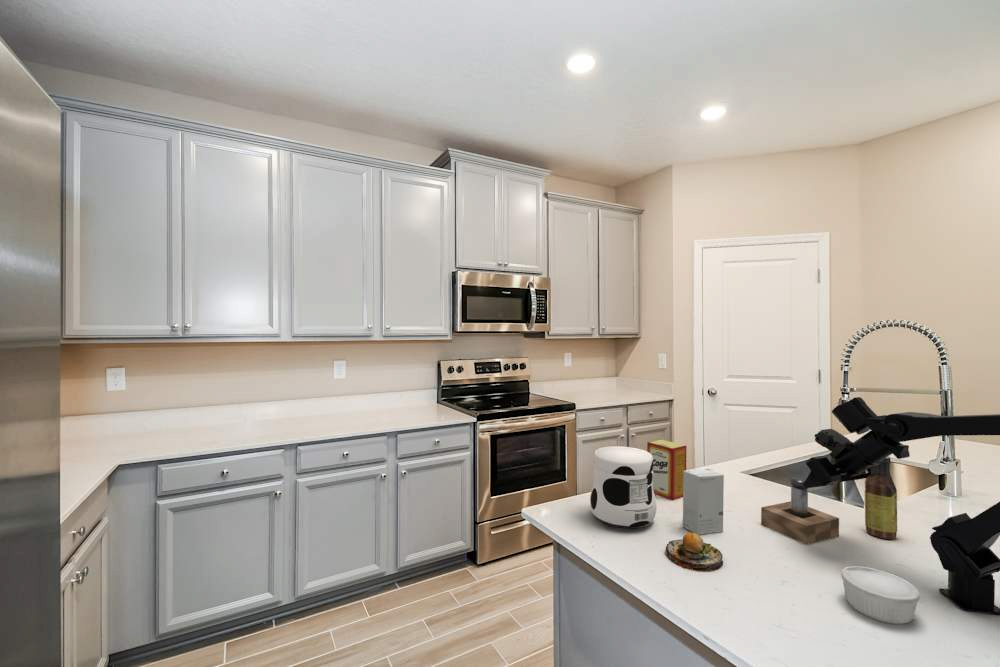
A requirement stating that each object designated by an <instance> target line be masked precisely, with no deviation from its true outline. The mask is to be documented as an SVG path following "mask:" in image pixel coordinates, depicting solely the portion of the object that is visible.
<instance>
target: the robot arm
mask: <svg viewBox="0 0 1000 667" xmlns="http://www.w3.org/2000/svg"><path fill="white" fill-rule="evenodd" d="M831 414H832V415H833V416H834V417H835V418H836V419H837V420H838V421H839V422H840V423H841V424H842V426H843V427H844V428H845V429H846V430H847V431H848V432H849V434H853V433H856V435H859V436H860V435H862V434H863V435H862V436H860V437H859V438H857V440H854V442H853V441H851V440H850V439H849V438H848V437H847V436H845V435H843V434H842V433H840V432H839V431H837V430H835V429H833V428H827V429H821V430H820V431H818V432H817V433H815V434H814V437H815V438H814V442H815V443H816V444H817V445H820V446H821V447H823V448H825V449H826V450H828V451H830V452H829V453H828V454H829V455H830V457H831V458H832V459H834V462H835V463H832V462H831V461H830V460H829V458H828V457H827V456H822V455H817V456H812V457H810V458H808V459H807V460H806V461H805V465H806V466H807V467H808V469H809V470H810V472H809V474H808V476H807V477H806V478H805V479H806V480H805V482H804V483H803V485H804V487H805V488H808V489H811V488H812V489H813V488H819V487H820V488H821V487H830V486H833V485H834V484H836V483H837V484H838V483H843V482H849V481H858V480H864V479H866V478H868V477H873V476H875V475H876V474H878V473H880V467H879V466H878V465H879V464H881V463H880V461H881V460H883V459H885V458H886V457H888V456H889V457H890V456H891V455H894V457H895V458H896V459H898V460H900V459H906V458H909V457H911V456H910V451H909V448H910V446H909V445H908V444H903V443H904V442H907V441H915V440H921V439H922V440H923V439H928V438H934V437H942V436H1000V413H998V414H997V413H995V414H971V415H970V414H969V415H940V414H932V413H924V412H917V411H915V412H913V411H906V412H899V413H891V414H888V415H886V414H883V415H877V414H876V413H875V412H874V411H873V409H871V408H870V406H869V405H868V404H867V403H866V401H865V400H864V399H863V398H862V397H860V396H856V397H853V398H851V399H850V400H847V401H844V402H843V403H842V404H839V405H836V406H835V407H834V408H833V409H832V410H831ZM902 442H903V443H902ZM931 529H932V530H933V531H934V532H932V533H931V534H930V536H929V539H930V544H931V547H932V548H933V550H934V552H936V554H937V555H938V558H939V562H940V563H941V566H942V568H943V569H944V570H945V571H948V572H947V576H948V577H947V588H939V589H938V592H939V593H941V594H942V595H944V596H945V597H946V598H947V599H948V600H950V601H951V602H952V603H953V604H955V605H956V606H957V607H959V608H960V609H962V610H964V611H966V612H967V611H969V612H975V613H976V612H977V613H983V614H994V615H1000V607H999V606H997V605H996V604H995V599H996V598H995V593H996V590H995V586H996V585H995V584H996V580H995V579H994V575H993V574H995V573H999V572H1000V558H999V557H998V555H996V554H995V553H994V551H993V550H992V549H991V547H992V546H993V545H994V544H995V543H996V541H997V540H998V539H999V537H1000V501H998V502H997V503H995V504H994V505H992V506H990V507H988V508H987V509H985V510H984V511H982V512H980V513H979V514H977V515H976V516H974V517H973V518H971V517H970V516H969V514H967V512H964V513H961V514H956V515H954V516H953V515H952V516H949V517H948V518H947V519H946V520H945V521H944V522H942V524H940V525H935V526H933V527H932V528H931Z"/></svg>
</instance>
